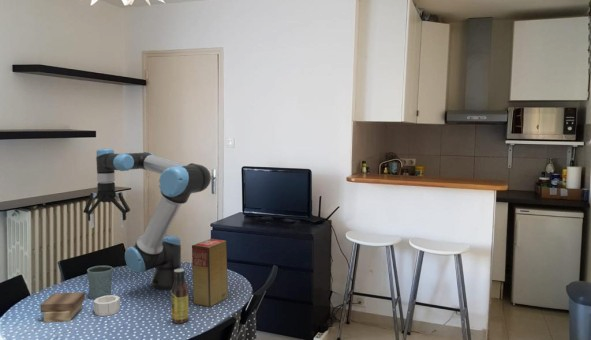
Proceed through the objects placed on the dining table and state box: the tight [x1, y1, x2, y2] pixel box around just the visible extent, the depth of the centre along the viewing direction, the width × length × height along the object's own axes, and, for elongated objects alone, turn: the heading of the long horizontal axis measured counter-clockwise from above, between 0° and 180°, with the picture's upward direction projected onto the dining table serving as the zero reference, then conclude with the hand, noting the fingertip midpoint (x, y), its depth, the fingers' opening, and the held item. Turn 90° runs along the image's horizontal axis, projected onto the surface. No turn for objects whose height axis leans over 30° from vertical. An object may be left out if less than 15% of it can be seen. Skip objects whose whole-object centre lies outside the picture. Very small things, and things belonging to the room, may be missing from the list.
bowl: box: [93, 294, 121, 317], centre depth 181 cm, size 9×9×5 cm
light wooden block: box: [43, 302, 83, 323], centre depth 178 cm, size 9×14×4 cm, turn 7°
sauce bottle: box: [170, 268, 190, 324], centre depth 172 cm, size 6×6×20 cm
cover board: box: [39, 291, 86, 313], centre depth 178 cm, size 12×12×3 cm
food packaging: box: [191, 238, 229, 308], centre depth 193 cm, size 13×9×25 cm
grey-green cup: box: [86, 265, 114, 300], centre depth 199 cm, size 10×10×12 cm
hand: (107, 227), depth 213 cm, fingers open, 13 cm apart
